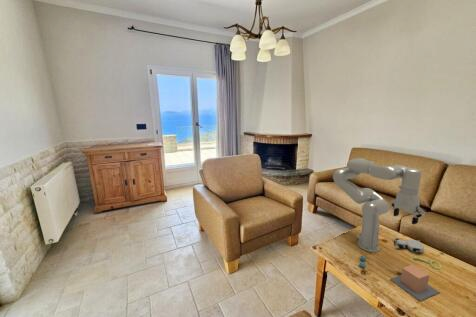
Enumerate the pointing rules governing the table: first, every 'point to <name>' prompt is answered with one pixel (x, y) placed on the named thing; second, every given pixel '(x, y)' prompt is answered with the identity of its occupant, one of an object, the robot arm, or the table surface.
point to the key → (429, 263)
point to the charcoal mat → (419, 296)
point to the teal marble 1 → (363, 258)
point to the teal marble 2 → (362, 264)
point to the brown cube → (414, 278)
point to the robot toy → (409, 245)
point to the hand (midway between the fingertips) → (404, 219)
